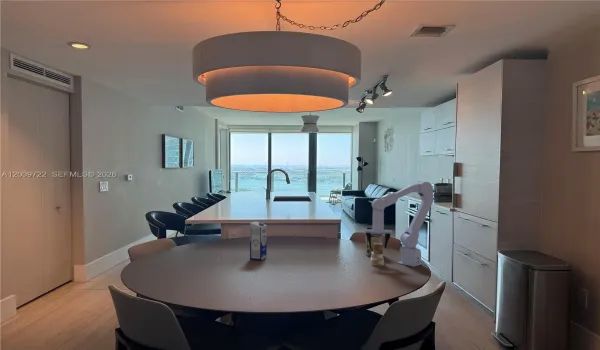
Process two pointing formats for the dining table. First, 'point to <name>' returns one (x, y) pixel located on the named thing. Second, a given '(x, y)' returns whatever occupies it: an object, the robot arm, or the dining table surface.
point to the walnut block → (377, 248)
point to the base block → (377, 262)
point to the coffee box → (372, 241)
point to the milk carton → (258, 241)
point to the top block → (377, 256)
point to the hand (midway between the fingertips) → (377, 247)
